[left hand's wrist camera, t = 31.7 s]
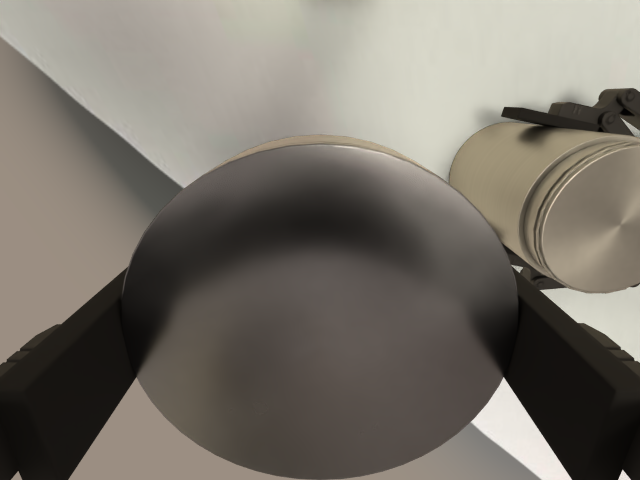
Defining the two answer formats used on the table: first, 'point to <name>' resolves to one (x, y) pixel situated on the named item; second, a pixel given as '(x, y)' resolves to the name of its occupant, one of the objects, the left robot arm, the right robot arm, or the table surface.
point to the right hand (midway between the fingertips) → (485, 178)
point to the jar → (559, 200)
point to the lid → (320, 309)
